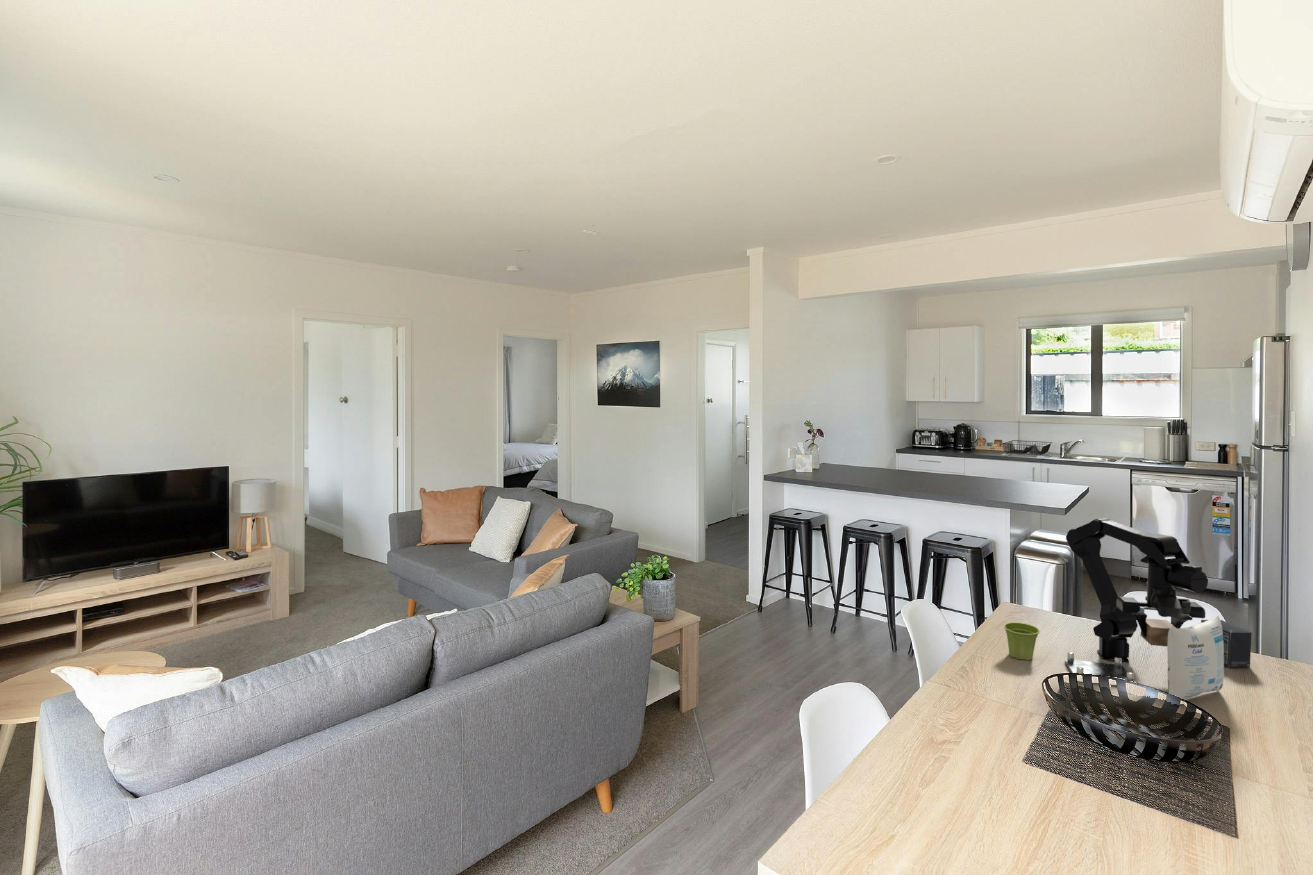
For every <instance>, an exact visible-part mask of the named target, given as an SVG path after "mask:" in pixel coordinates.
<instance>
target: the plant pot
mask: <svg viewBox="0 0 1313 875" xmlns="http://www.w3.org/2000/svg"><path fill="white" fill-rule="evenodd" d="M1003 628H1004V631H1005V633H1006V639H1007V645H1008V654H1009V655H1010V657H1012V658H1014V659H1017V660H1026V661H1029V660H1032V659H1033V657H1034V652H1035V645H1036V642H1037V641H1036V640H1037V638H1038V635H1039V634H1040V628H1038V627H1037V626H1034V625H1032V624H1029V623H1028V624H1027V623H1025V622H1007V623H1005V624H1003Z"/></svg>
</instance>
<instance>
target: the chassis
mask: <svg viewBox="0 0 1313 875" xmlns="http://www.w3.org/2000/svg"><path fill="white" fill-rule="evenodd" d="M1066 654H1067V656H1066V657H1067V658H1065V659H1064V663H1065V665H1066V667H1067V669H1068V671H1069V672H1070V673H1079V674H1083V673H1084V674H1092V675H1101V676H1110V677H1117V678H1122V679H1125V680H1127V681H1133V682H1135V683H1136V681H1135V673H1134V672H1130V671H1127V670H1126V668H1125V667H1124V666H1123V665H1122V664H1123V661H1122V658H1120V657H1115V660H1114V663H1105V662H1095V661H1087V660H1078V659H1077V660H1075V653H1074V652H1072V651H1071V652H1070V651H1068V652H1067V653H1066ZM1136 684H1137V683H1136Z"/></svg>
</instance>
